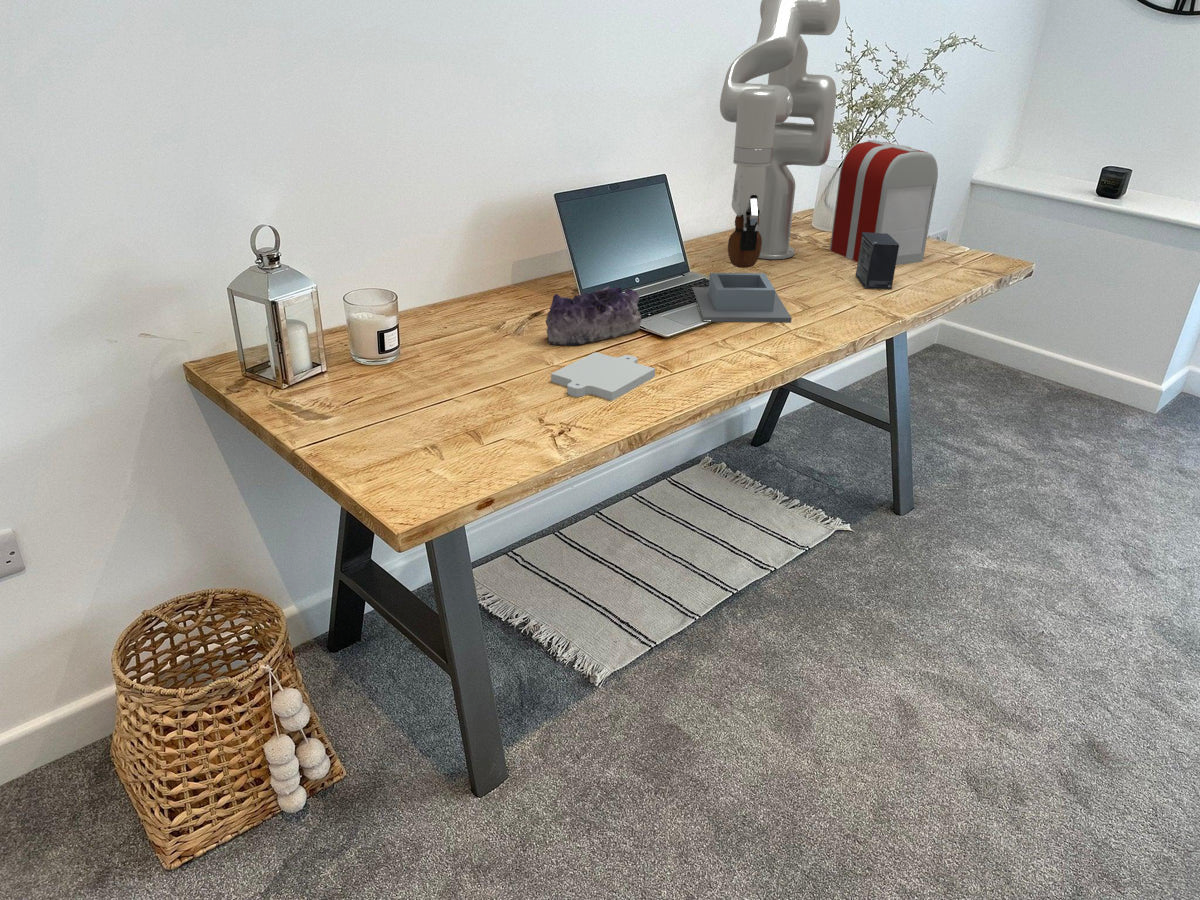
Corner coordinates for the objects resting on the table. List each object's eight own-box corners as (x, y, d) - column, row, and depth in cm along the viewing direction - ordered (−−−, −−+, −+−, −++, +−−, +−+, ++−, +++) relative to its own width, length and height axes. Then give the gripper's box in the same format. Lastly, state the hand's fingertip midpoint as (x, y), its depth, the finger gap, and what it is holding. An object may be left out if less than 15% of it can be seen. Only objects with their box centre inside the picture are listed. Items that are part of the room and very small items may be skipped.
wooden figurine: (737, 271, 190) (744, 197, 183) (721, 264, 194) (727, 191, 187) (764, 267, 193) (771, 194, 186) (748, 260, 197) (754, 189, 190)
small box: (893, 289, 210) (901, 244, 205) (864, 289, 210) (871, 243, 205) (882, 276, 219) (889, 232, 214) (854, 275, 219) (860, 231, 214)
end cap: (692, 291, 206) (693, 267, 204) (772, 292, 207) (775, 268, 204) (703, 321, 188) (704, 295, 186) (791, 322, 189) (794, 296, 186)
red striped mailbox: (879, 244, 245) (895, 137, 233) (924, 261, 231) (945, 149, 218) (827, 249, 239) (841, 141, 227) (871, 268, 225) (889, 153, 212)
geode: (571, 356, 171) (565, 303, 167) (535, 346, 180) (528, 295, 176) (653, 329, 182) (649, 279, 178) (615, 321, 191) (611, 273, 187)
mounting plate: (603, 407, 152) (603, 397, 151) (542, 388, 158) (541, 378, 157) (662, 374, 165) (663, 364, 164) (603, 357, 171) (603, 348, 171)
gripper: (727, 148, 191) (721, 234, 199) (740, 163, 175) (733, 256, 184) (763, 148, 191) (755, 235, 199) (780, 164, 176) (770, 257, 184)
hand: (744, 244), depth 191 cm, fingers closed on wooden figurine, 6 cm apart
